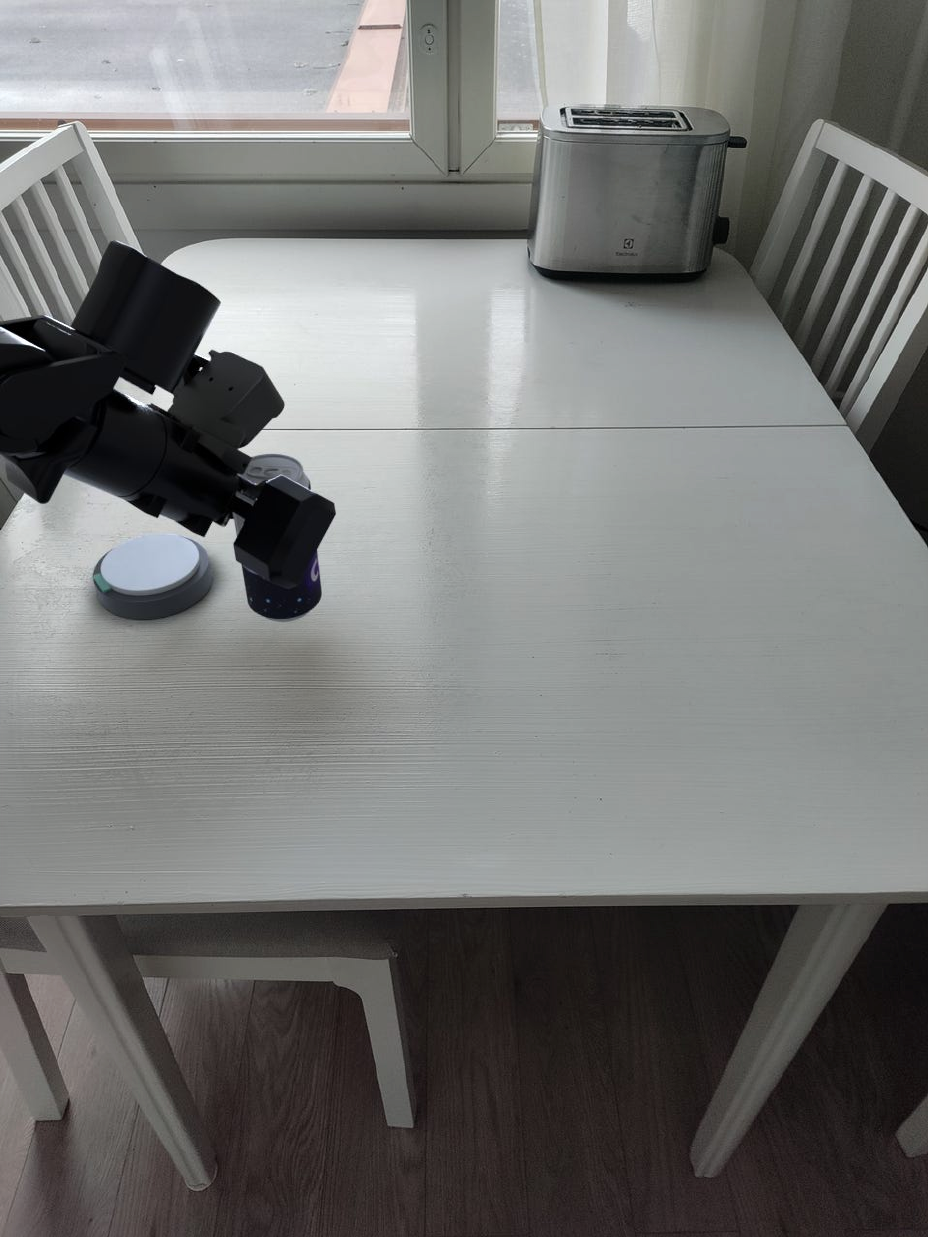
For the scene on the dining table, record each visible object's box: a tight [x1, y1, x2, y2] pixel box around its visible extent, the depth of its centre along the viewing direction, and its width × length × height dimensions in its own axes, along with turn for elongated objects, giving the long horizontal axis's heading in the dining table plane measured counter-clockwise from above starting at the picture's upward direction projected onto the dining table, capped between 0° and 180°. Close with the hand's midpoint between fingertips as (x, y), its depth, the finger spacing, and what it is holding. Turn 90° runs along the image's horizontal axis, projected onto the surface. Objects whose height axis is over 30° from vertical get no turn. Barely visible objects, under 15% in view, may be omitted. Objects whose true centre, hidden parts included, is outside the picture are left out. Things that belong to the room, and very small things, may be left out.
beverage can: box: [233, 453, 323, 623], centre depth 71 cm, size 6×6×12 cm
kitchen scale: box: [91, 533, 214, 620], centre depth 85 cm, size 10×10×3 cm
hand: (290, 527), depth 71 cm, fingers closed on beverage can, 5 cm apart
